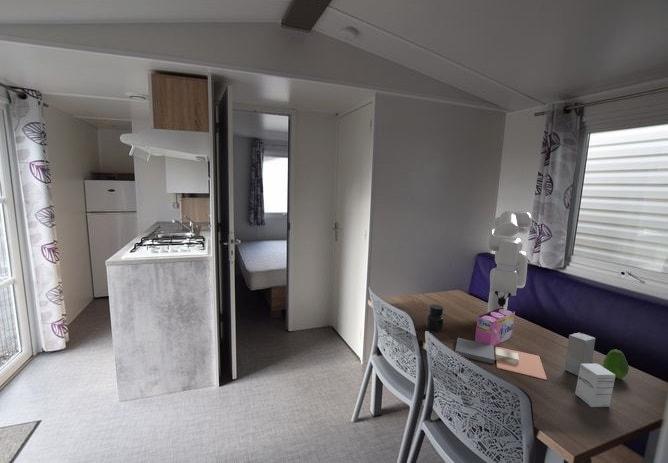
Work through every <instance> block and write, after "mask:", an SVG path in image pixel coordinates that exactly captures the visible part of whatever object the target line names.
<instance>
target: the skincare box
mask: <svg viewBox="0 0 668 463" xmlns="http://www.w3.org/2000/svg"><path fill="white" fill-rule="evenodd" d="M595 344H596V337H594V336H591V335H589V334H585V333H582V332H577V333H576V332H574V333H573V334H569V335H568V342H567V350H566V351H567V352H566V359H565V368H564V370H565V371H567V372H569V373H571V374H573V375H576V376H577V377H578V376H579V370H580V365H581V364H593V359H594V353H595Z"/></svg>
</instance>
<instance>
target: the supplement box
mask: <svg viewBox="0 0 668 463" xmlns="http://www.w3.org/2000/svg"><path fill="white" fill-rule="evenodd" d="M615 376H616V375H615V374H613V373H612V372H610V371H609V370H607V369H605V368H604V366H603V365H601V364H599V363H593V362H592V364H581V365H580V370H579V376H577V381H576V382H577V383H576V387H575V394H574V395H576V396H577V397H578V398H580V399H581V400H582V401H584V402H585V403H586V404H587V405H588V406H589V407H591V408H602V407H603V408H604V407H606V408H607V407H608V408H609V407H610V404H611V399H612V394H613V390H614V386H615V380H616V378H615Z"/></svg>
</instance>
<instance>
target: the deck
mask: <svg viewBox="0 0 668 463" xmlns="http://www.w3.org/2000/svg"><path fill="white" fill-rule="evenodd" d="M455 351H456V352H458V353H459V354H461V355H463V356H465V357H464V358H468V359H472V360H476V361H480V362H484V363H488V364H489V363H490V364H494V365H495V361H496V360H495V346H494V345H489V344H485V343H480V342H475V340H471V339H470V340H469V339H465V338H460V337H457V340H456V345H455ZM463 356H462V357H463Z"/></svg>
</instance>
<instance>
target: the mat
mask: <svg viewBox="0 0 668 463" xmlns="http://www.w3.org/2000/svg"><path fill="white" fill-rule="evenodd" d="M495 349H501V350H505V351H510V352H514V353H518V356H519V364H518V365H516V364H512V363H507V362H503V361H499V360H495V361H496V368H497V369H498V370H504V371H508V372H511V373H516V374H521V375H525V376H528V377H532V378H537V379H540V380H544V381H545V380H546V381H547V380H548V379H547V378H548V377H547V375H546V372H545V370H544V366H543V364H542V363H543V362H542V360H541V358H540V355H537V354H532V353H528V352H522V351H519V350H513V349H509V348H506V347H500V346H497V345H496V346H494V350H495Z"/></svg>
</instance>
